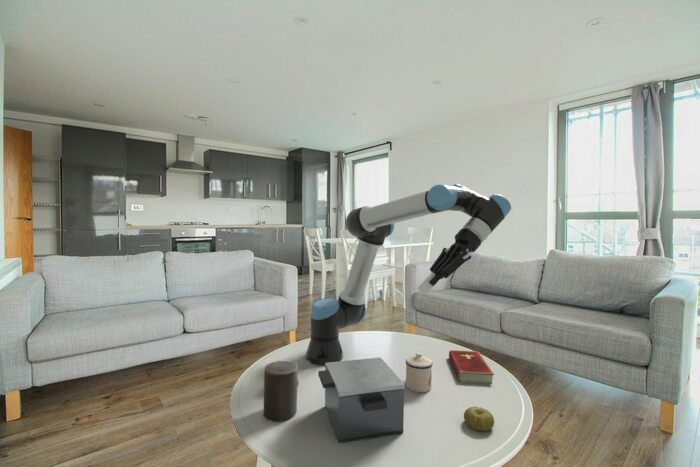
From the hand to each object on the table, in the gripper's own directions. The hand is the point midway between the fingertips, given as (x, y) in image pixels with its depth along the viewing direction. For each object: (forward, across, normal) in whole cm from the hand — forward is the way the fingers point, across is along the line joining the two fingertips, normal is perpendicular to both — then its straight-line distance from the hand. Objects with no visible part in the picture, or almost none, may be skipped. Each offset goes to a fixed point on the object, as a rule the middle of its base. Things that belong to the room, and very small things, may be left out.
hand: (421, 291), depth 102 cm
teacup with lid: (+21, +15, -30) cm, 40 cm away
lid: (+31, 0, -3) cm, 31 cm away
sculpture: (+17, -11, -35) cm, 40 cm away
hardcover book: (+4, +22, -48) cm, 53 cm away
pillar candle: (+55, +9, +3) cm, 55 cm away
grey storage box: (+39, 0, -12) cm, 41 cm away
